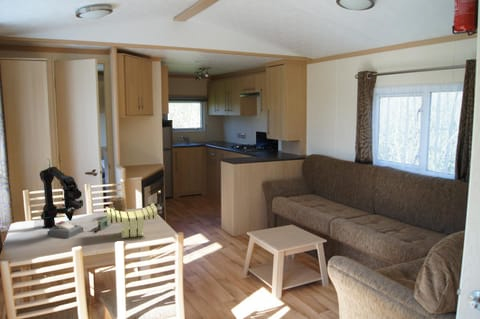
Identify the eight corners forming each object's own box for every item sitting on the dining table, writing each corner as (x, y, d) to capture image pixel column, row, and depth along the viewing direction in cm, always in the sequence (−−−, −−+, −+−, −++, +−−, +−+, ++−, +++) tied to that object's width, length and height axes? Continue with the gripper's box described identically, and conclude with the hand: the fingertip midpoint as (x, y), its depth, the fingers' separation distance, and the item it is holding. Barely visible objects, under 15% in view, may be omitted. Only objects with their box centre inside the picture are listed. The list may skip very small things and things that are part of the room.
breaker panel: (47, 235, 257) (47, 229, 256) (63, 229, 270) (62, 222, 270) (68, 238, 253) (68, 231, 252) (83, 231, 266) (82, 224, 265)
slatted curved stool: (108, 241, 247) (107, 213, 245) (107, 233, 262) (106, 206, 259) (157, 235, 257) (156, 208, 255) (154, 228, 272) (153, 202, 270)
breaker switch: (55, 225, 259) (55, 223, 259) (62, 222, 265) (62, 220, 265) (68, 230, 257) (68, 228, 257) (74, 227, 263) (75, 225, 262)
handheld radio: (116, 222, 287) (97, 233, 262) (112, 222, 287) (93, 233, 263) (115, 213, 286) (96, 223, 261) (111, 213, 286) (92, 223, 262)
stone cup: (111, 216, 302) (110, 196, 300) (127, 214, 308) (127, 194, 306) (115, 221, 289) (114, 200, 287) (132, 219, 294) (131, 199, 292)
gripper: (69, 201, 246) (70, 225, 248) (88, 194, 263) (90, 217, 266) (54, 199, 249) (55, 224, 251) (74, 193, 267) (76, 216, 269)
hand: (70, 220), depth 259 cm, fingers closed
